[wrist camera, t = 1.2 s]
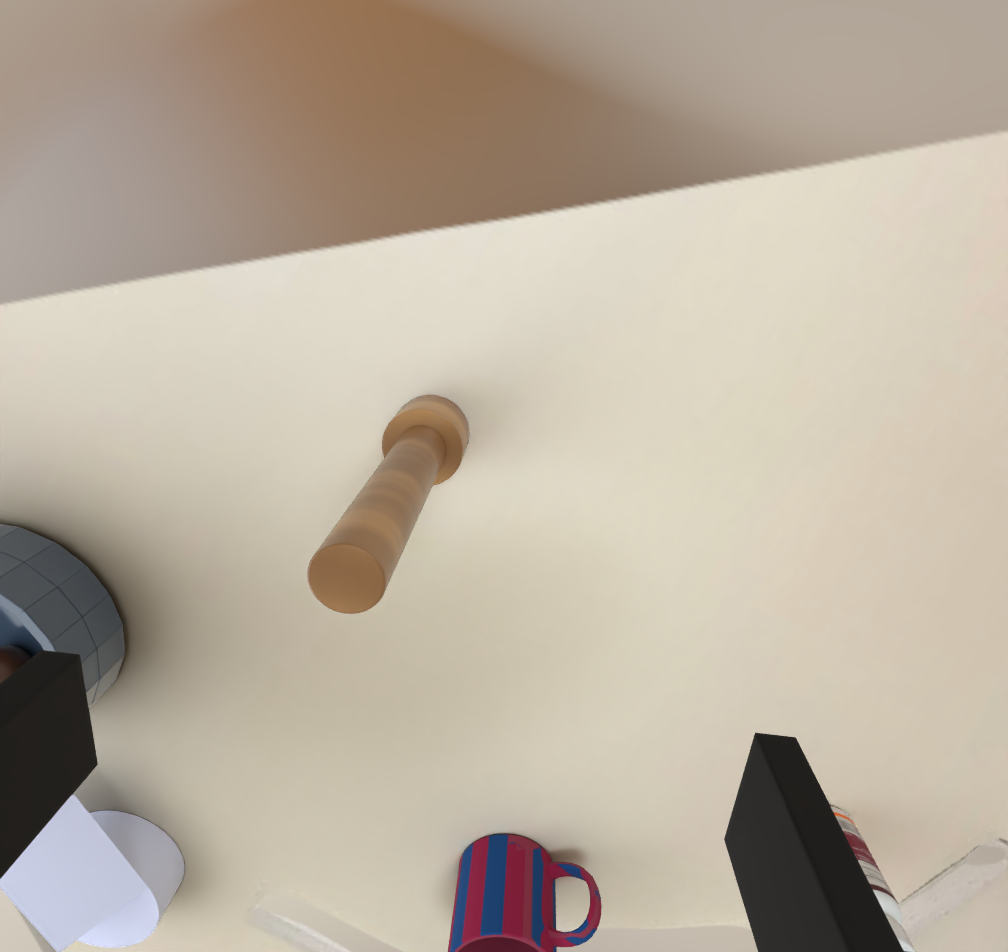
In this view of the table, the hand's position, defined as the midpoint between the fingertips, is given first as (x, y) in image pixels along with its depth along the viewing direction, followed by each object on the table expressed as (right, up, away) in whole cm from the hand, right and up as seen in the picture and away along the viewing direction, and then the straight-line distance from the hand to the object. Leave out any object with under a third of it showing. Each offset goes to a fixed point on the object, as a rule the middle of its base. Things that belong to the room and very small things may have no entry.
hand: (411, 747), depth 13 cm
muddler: (-2, +8, +22) cm, 23 cm away
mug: (+4, -22, +32) cm, 39 cm away
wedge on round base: (-27, -21, +34) cm, 48 cm away
